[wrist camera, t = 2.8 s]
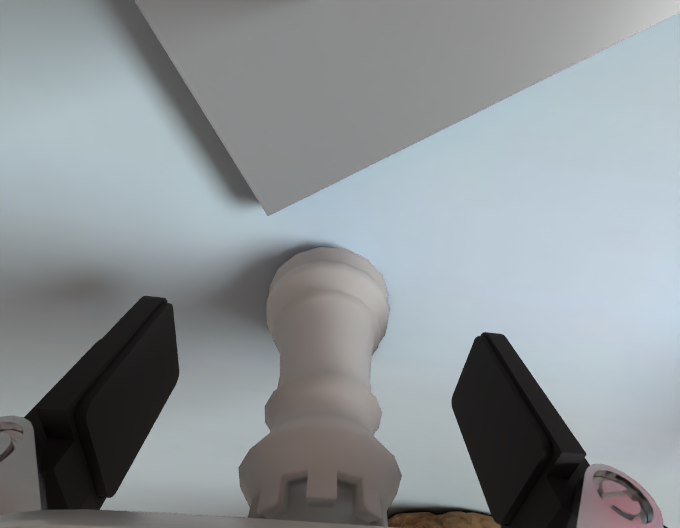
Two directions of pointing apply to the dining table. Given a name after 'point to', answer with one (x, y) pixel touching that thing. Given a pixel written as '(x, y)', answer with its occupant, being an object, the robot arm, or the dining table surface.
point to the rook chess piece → (323, 397)
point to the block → (442, 520)
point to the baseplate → (367, 72)
